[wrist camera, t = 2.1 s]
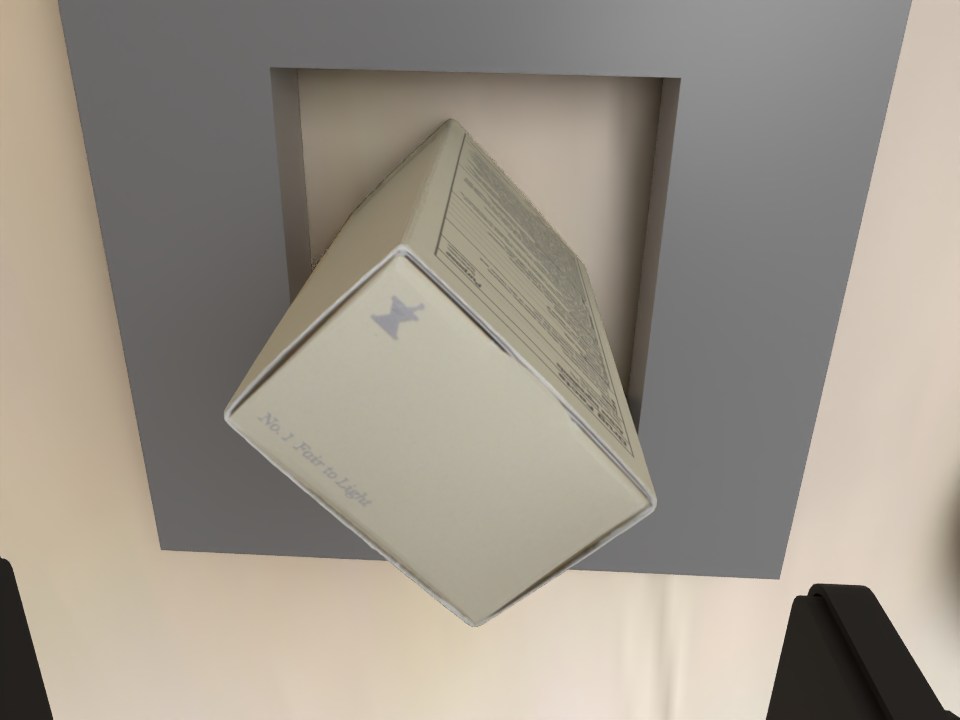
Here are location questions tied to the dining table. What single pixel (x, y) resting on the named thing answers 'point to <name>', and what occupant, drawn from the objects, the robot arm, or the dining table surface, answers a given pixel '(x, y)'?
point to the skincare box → (452, 387)
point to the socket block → (666, 261)
